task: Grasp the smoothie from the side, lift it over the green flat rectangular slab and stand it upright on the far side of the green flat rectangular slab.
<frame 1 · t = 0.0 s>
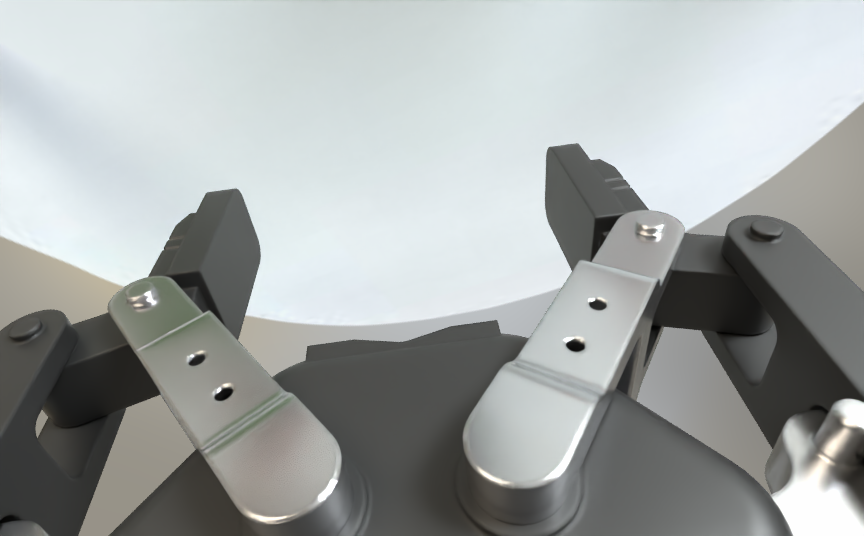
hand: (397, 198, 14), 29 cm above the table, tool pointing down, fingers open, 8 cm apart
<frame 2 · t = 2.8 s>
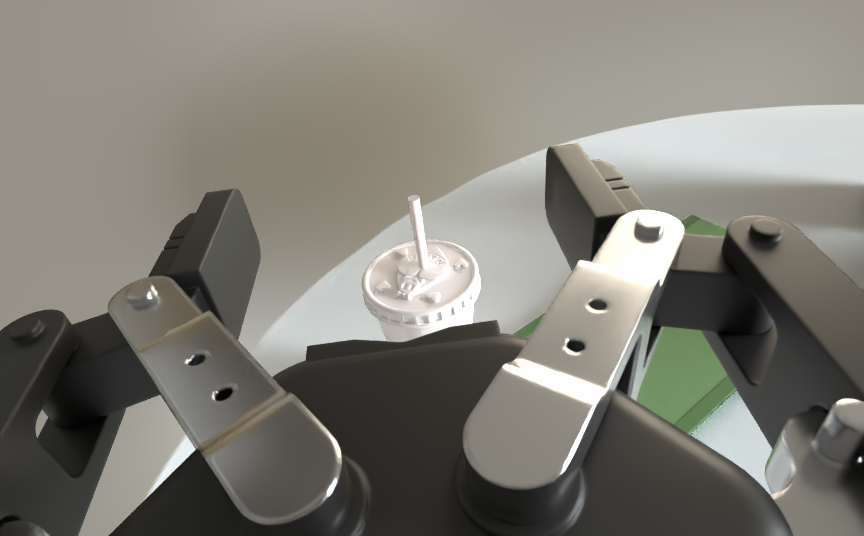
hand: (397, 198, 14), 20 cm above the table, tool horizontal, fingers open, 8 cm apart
green flat rectangular slab: (674, 317, 37), on the table
smoothie: (438, 390, 35), on the table
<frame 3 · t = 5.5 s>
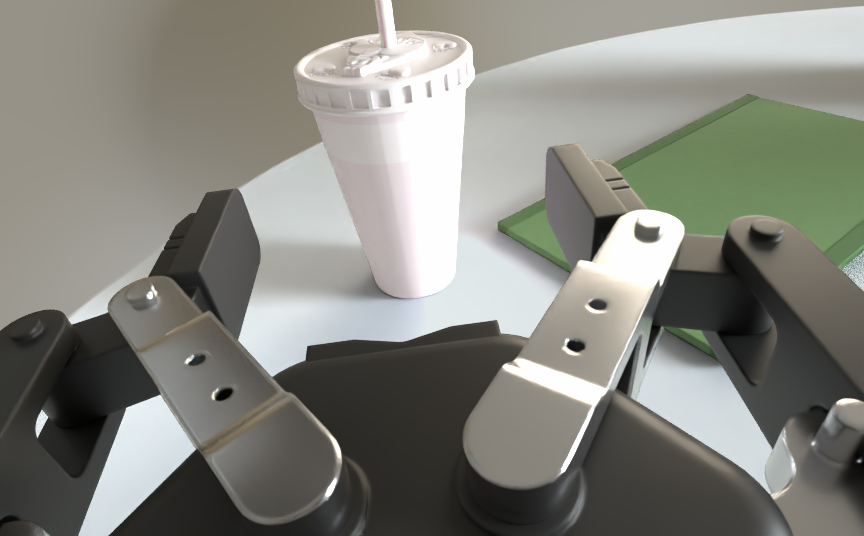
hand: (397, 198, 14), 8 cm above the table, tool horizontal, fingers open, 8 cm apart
green flat rectangular slab: (740, 191, 27), on the table
smoothie: (415, 275, 25), on the table
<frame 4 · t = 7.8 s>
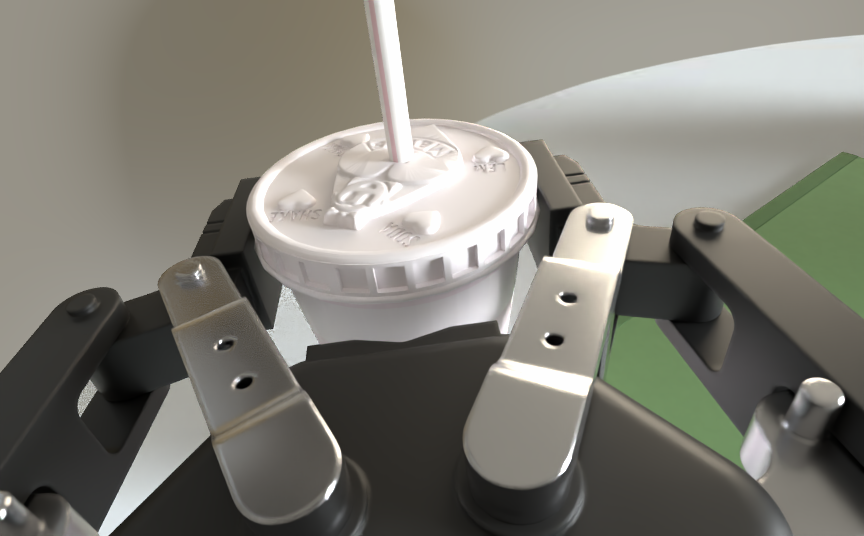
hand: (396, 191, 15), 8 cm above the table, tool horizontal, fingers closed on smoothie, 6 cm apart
smoothie: (434, 443, 18), on the table, touching gripper
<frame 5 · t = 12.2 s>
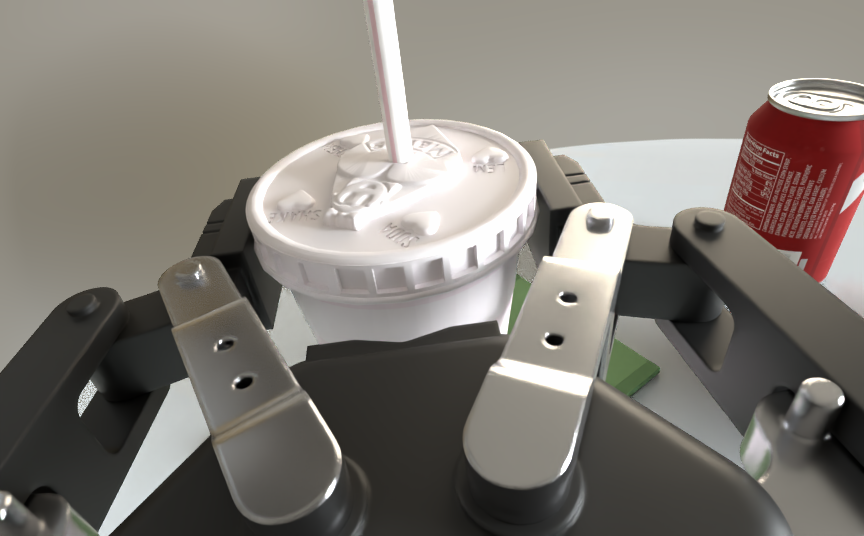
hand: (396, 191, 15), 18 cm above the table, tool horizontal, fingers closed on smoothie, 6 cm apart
green flat rectangular slab: (443, 410, 30), on the table
soda can: (764, 269, 37), on the table
smoothie: (434, 444, 18), point 9 cm above the table, touching gripper
when the fingers open (8 cm above the table, at t = 16.4 s): smoothie stays where it is, on the table.
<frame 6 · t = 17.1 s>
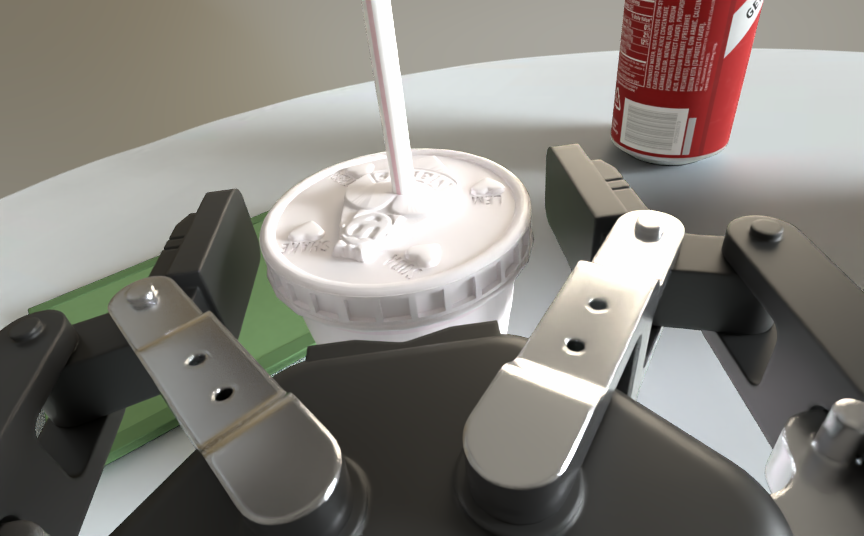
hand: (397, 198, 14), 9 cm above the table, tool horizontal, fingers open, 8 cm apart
green flat rectangular slab: (284, 274, 27), on the table
soda can: (665, 149, 34), on the table
smoothie: (435, 453, 18), on the table
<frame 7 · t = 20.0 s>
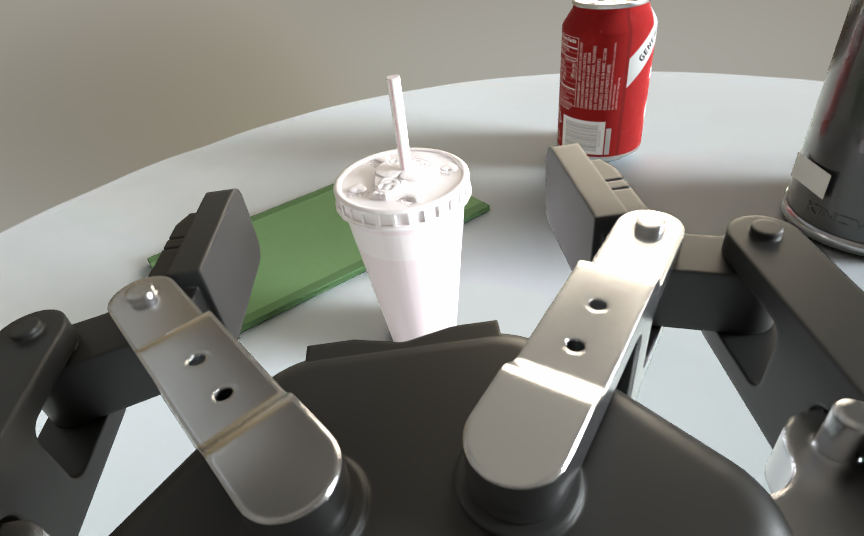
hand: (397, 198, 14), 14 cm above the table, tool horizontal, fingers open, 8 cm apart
green flat rectangular slab: (322, 236, 39), on the table
soda can: (597, 151, 46), on the table
smoothie: (423, 331, 31), on the table
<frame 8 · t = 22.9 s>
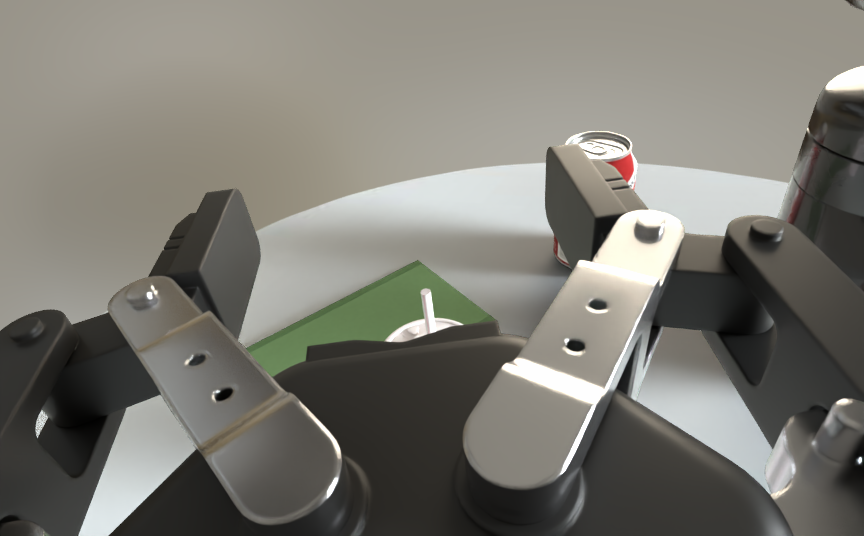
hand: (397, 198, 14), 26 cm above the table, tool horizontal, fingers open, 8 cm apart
green flat rectangular slab: (354, 346, 47), on the table
soda can: (587, 258, 54), on the table
smoothie: (444, 450, 38), on the table
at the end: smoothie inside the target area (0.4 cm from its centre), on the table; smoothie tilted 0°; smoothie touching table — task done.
